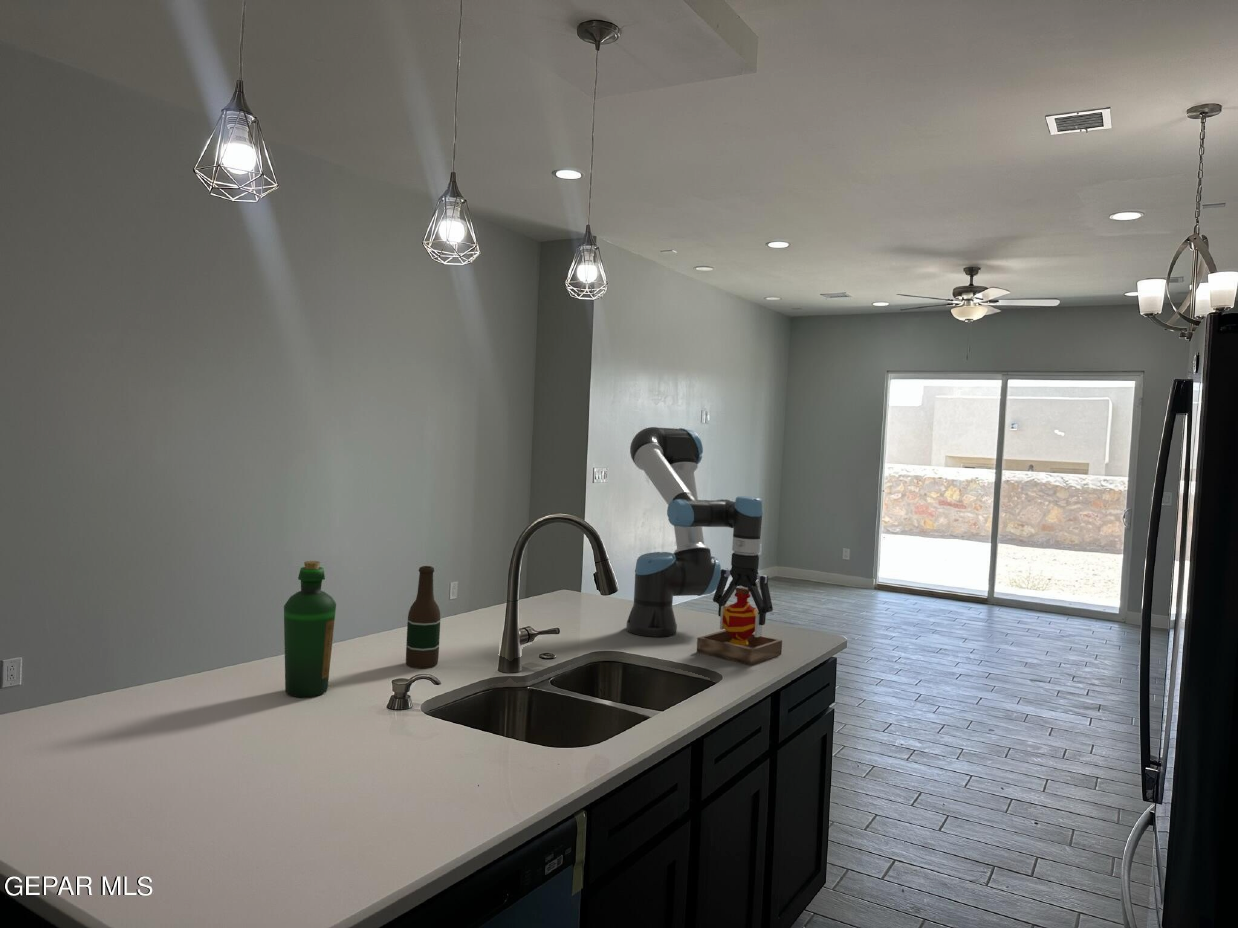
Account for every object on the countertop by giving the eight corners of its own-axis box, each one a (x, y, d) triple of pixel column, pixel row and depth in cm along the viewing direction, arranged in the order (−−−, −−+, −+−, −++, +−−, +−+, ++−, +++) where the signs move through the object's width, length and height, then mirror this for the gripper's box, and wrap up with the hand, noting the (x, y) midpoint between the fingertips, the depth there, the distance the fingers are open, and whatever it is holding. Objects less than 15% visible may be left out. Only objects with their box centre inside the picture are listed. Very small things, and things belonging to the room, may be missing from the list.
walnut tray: (696, 651, 236) (697, 637, 236) (728, 642, 249) (729, 628, 249) (750, 665, 226) (751, 650, 225) (781, 654, 239) (782, 640, 239)
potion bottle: (760, 648, 232) (764, 594, 232) (722, 646, 233) (726, 591, 232) (755, 639, 243) (758, 586, 242) (718, 636, 243) (722, 584, 242)
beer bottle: (421, 658, 214) (426, 562, 213) (444, 664, 210) (449, 567, 209) (398, 664, 208) (403, 566, 207) (422, 670, 204) (427, 570, 203)
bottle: (343, 691, 185) (349, 562, 184) (302, 703, 176) (308, 568, 175) (310, 681, 191) (315, 556, 190) (269, 692, 182) (274, 561, 180)
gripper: (703, 548, 241) (698, 626, 242) (776, 559, 226) (770, 642, 227) (717, 546, 246) (712, 622, 247) (789, 557, 232) (784, 638, 233)
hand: (740, 632), depth 237 cm, fingers closed on potion bottle, 10 cm apart
